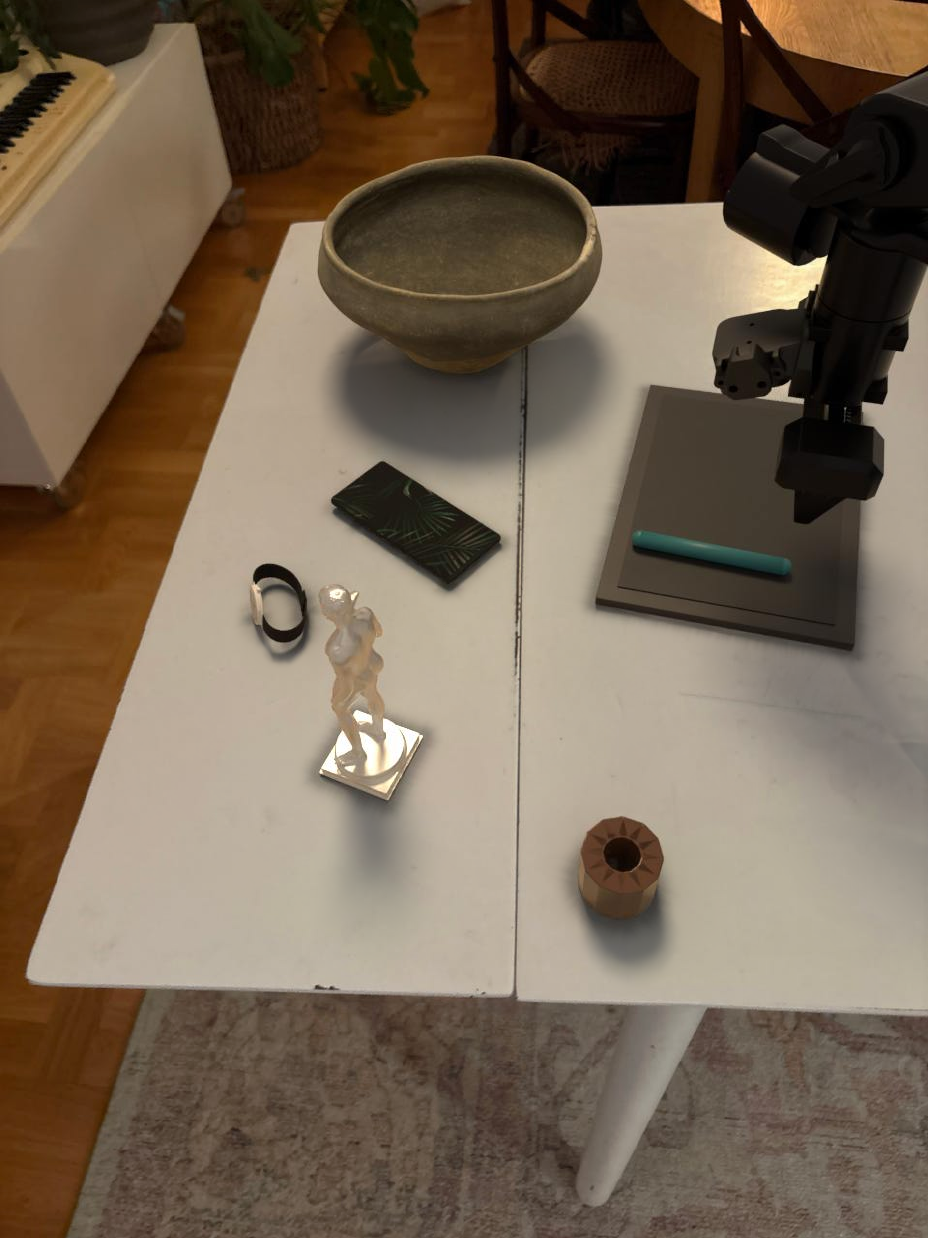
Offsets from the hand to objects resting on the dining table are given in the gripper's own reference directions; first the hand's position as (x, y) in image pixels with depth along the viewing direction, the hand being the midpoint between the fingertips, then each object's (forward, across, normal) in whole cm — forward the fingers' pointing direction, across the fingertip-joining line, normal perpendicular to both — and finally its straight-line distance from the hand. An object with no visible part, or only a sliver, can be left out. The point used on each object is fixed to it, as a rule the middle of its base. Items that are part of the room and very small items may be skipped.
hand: (804, 479), depth 69 cm
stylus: (+7, +2, +1) cm, 8 cm away
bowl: (+10, -24, -34) cm, 43 cm away
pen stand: (+9, +31, -8) cm, 33 cm away
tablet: (+9, -6, -4) cm, 11 cm away
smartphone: (+9, +3, -31) cm, 33 cm away
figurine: (+9, +25, -27) cm, 38 cm away
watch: (+10, +15, -39) cm, 43 cm away
